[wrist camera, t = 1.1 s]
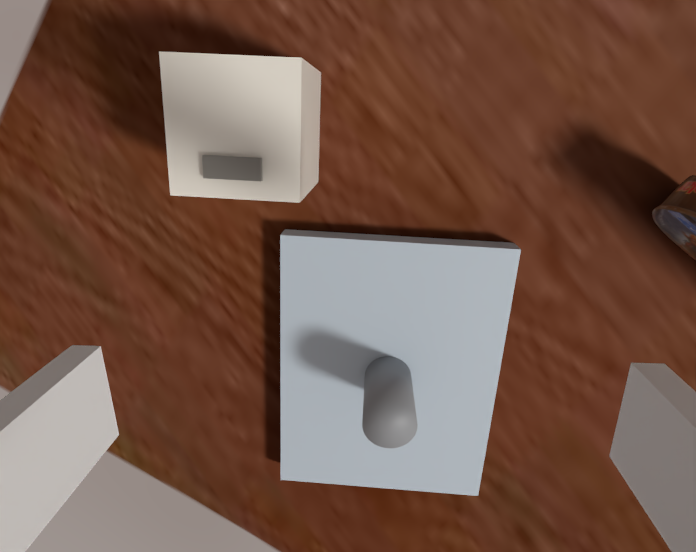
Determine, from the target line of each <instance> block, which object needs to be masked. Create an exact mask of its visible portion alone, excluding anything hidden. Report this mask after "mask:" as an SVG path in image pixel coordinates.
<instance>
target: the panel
mask: <svg viewBox="0 0 696 552" xmlns="http://www.w3.org/2000/svg"><path fill="white" fill-rule="evenodd" d="M520 252H521V249H520V248H519V247H518V246H517V245H516V244H515V243H509V242H492V241H475V240H459V239H442V238H425V237H408V236H391V235H374V234H358V233H341V232H324V231H307V230H290V229H285V230H284V231H283V232H282V233H281V235H280V397H281V480H291V481H303V482H315V483H327V484H340V485H352V486H364V487H376V488H388V489H401V490H413V491H425V492H437V493H449V494H461V495H474V496H478V493H479V487H480V481H481V476H482V470H483V464H484V459H485V453H486V447H487V441H488V436H489V430H490V424H491V418H492V413H493V407H494V401H495V396H496V390H497V384H498V378H499V373H500V367H501V361H502V355H503V350H504V344H505V338H506V332H507V327H508V321H509V315H510V310H511V304H512V298H513V292H514V287H515V281H516V275H517V269H518V264H519V258H520Z"/></svg>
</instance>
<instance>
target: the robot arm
mask: <svg viewBox="0 0 696 552" xmlns="http://www.w3.org/2000/svg"><path fill="white" fill-rule="evenodd" d="M118 435H119V432H118V427H117V423H116V418H115V413H114V408H113V403H112V398H111V394H110V389H109V384H108V379H107V374H106V369H105V365H104V360H103V355H102V350H101V346H79V345H72V346H70V347H69V348H68V349H67V350H65V351H64V352H63V353H61V354H60V355H59V356H57V357H56V358H55V359H54V360H52V361H51V362H50V363H48V364H47V365H46V366H44V367H43V368H42V369H41V370H39V371H38V372H37V373H35V374H34V375H33V376H31V377H30V378H29V379H28V380H26V381H25V382H24V383H22V384H21V385H20V386H18V387H17V388H16V389H15V390H13V391H12V392H11V393H9V394H8V395H7V396H5V397H4V398H3V399H2V400H0V552H25V551H26V550H27V549H28V548H29V546H30V545H31V544H32V543H33V541H34V540H35V539H36V538H37V536H38V535H39V534H40V533H41V531H42V530H43V529H44V528H45V526H46V525H47V524H48V522H49V521H50V520H51V519H52V518H53V516H54V515H55V514H56V513H57V511H58V510H59V509H60V508H61V506H62V505H63V504H64V503H65V501H66V500H67V499H68V498H69V496H70V495H71V494H72V493H73V491H74V490H75V489H76V488H77V487H78V485H79V484H80V483H81V482H82V480H83V479H84V478H85V476H86V475H87V474H88V473H89V472H90V470H91V469H92V468H93V467H94V465H95V464H96V463H97V462H98V460H99V459H100V458H101V457H102V455H103V454H104V453H105V452H106V450H107V449H108V448H109V447H110V445H111V444H112V443H113V442H114V440H115V439H116V438H117V437H118ZM610 458H611V460H612V461H613V463H614V464H615V466H616V467H617V469H618V470H619V472H620V473H621V475H622V476H623V478H624V479H625V481H626V482H627V484H628V486H629V487H630V489H631V490H632V492H633V493H634V495H635V496H636V498H637V499H638V501H639V502H640V504H641V505H642V507H643V508H644V510H645V512H646V513H647V515H648V516H649V518H650V519H651V521H652V522H653V524H654V525H655V527H656V528H657V530H658V531H659V533H660V535H661V536H662V538H663V539H664V541H665V542H666V544H667V545H668V547H669V548H670V550H671V551H672V552H696V392H695V391H694V390H693V389H692V388H691V387H690V386H689V385H688V384H686V383H685V382H684V381H683V380H682V379H681V378H680V377H679V376H678V375H676V374H675V373H674V372H673V371H672V370H671V369H670V368H669V367H668V366H667V365H665V364H654V363H631V366H630V370H629V374H628V379H627V383H626V387H625V392H624V396H623V400H622V404H621V409H620V413H619V417H618V422H617V426H616V430H615V434H614V439H613V443H612V447H611V452H610Z"/></svg>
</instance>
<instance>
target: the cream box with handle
mask: <svg viewBox="0 0 696 552" xmlns="http://www.w3.org/2000/svg"><path fill="white" fill-rule="evenodd" d="M159 59H160V72H161V84H162V97H163V110H164V122H165V135H166V148H167V160H168V173H169V186H170V195H174V196H192V197H210V198H227V199H245V200H262V201H280V202H297V203H300V202H301V201H302V200H303V199H304V197H305V196H306V195H307V194H308V193H309V192H310V191H311V190H312V189H313V187H314V186H315V185H316V184H317V183H318V176H319V136H320V96H321V72H320V71H318V70H317V69H316V68H314V67H313V66H312V65H310V64H309V63H308V62H307V61H305V60H304V59H303V58H297V57H274V56H251V55H229V54H206V53H183V52H160V51H159Z"/></svg>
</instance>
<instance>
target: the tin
mask: <svg viewBox="0 0 696 552" xmlns="http://www.w3.org/2000/svg"><path fill="white" fill-rule="evenodd" d="M652 217H653V220H654V222H655V223H656V225H657V226H658V227H659V228H660V229H661V231H662V232H663V233H665V234H666V235H667V236H668V237H669V238H670V239H671V240H672V241H673V242H674V243H675V244H677V245H678V246H679V247H680V248H681V249H682V250H684V251H685V252H686V253H687V254H688V255H690V256H691V257H692V258H693V259H694V260H696V176H694V175H693V176H690V177H688V178H687V179H686V180H685V181H684V182H682V183H681V184H680V185H679V186H678V187H677V188H676V189H675V190H674V191H673V192H672V193H671V194H670V196H669V197H668V198H667V199H666V200H665V201H664V202H663V203H662V204H661V205H660V206H657V207H656V208H654V210H653V211H652Z"/></svg>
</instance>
